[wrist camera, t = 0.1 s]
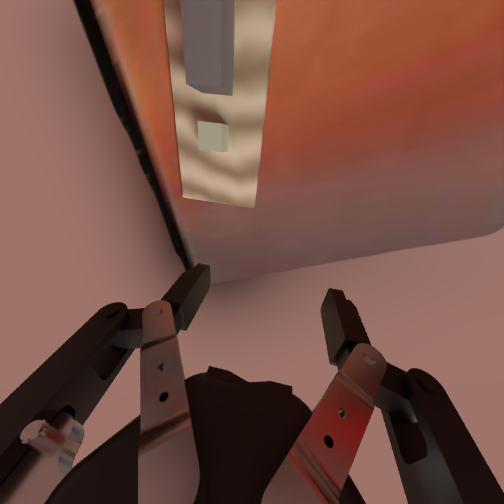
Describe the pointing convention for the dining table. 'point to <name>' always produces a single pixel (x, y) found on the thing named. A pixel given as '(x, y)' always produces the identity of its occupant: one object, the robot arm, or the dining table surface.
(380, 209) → the dining table surface
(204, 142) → the wood offcut
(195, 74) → the block
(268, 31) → the plywood board
